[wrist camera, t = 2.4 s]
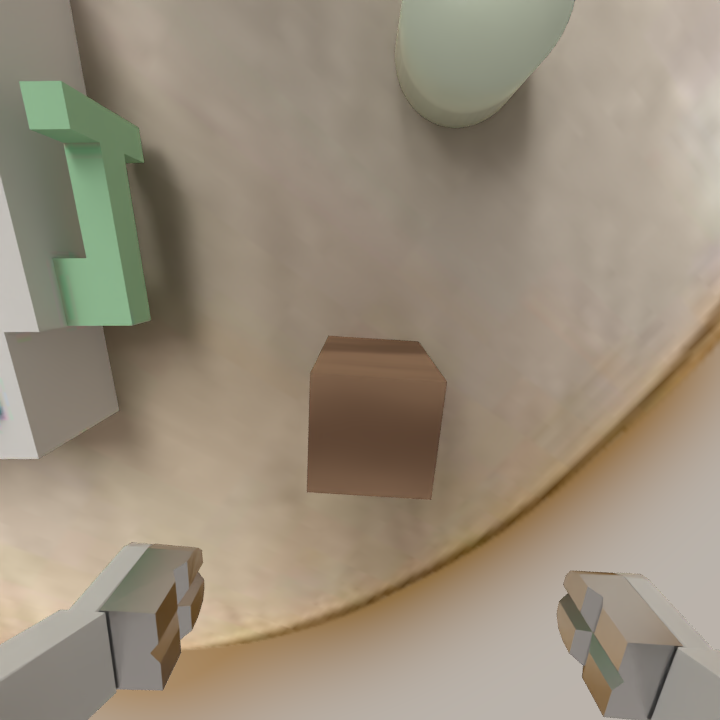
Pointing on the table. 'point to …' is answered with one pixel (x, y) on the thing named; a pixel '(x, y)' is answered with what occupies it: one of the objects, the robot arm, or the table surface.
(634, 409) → the table surface
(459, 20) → the sage rounded block
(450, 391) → the table surface
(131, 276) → the decorative block
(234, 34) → the table surface
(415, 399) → the walnut block
